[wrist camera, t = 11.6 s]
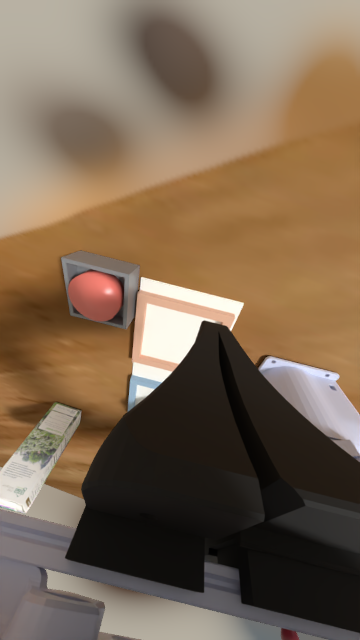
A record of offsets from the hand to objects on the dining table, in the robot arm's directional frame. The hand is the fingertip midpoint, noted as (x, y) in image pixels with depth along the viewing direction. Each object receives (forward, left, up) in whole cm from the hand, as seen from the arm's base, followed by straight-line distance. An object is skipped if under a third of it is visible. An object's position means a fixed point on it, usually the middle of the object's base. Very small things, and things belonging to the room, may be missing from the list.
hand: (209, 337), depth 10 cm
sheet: (+1, +17, -10) cm, 20 cm away
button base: (+11, +4, -10) cm, 15 cm away
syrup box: (+20, +36, -11) cm, 43 cm away
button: (+11, +4, -9) cm, 14 cm away
